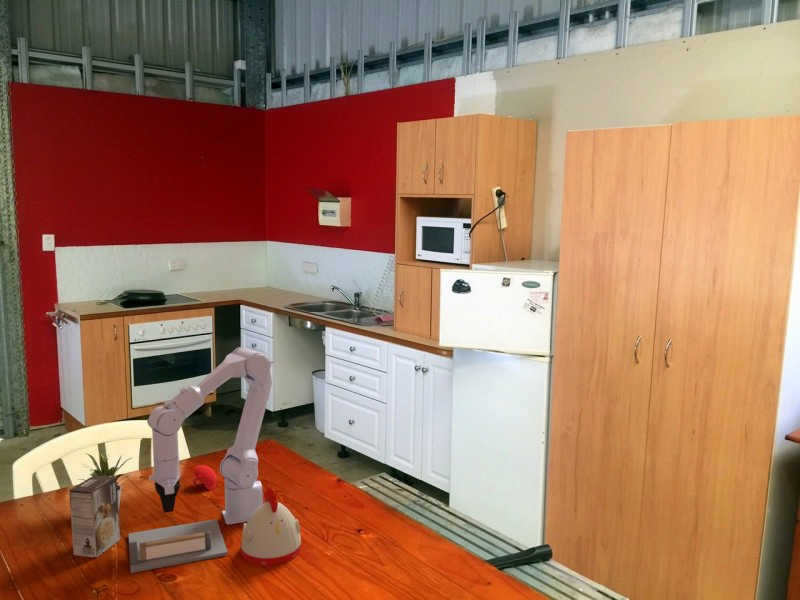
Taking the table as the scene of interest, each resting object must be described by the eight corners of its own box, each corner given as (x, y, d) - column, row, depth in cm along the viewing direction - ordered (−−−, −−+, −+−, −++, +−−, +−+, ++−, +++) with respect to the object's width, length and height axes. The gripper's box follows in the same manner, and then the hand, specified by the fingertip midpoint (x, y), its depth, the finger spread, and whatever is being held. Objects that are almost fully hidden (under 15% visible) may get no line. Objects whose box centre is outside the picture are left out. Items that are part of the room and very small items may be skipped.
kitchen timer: (250, 570, 152) (249, 506, 150) (234, 543, 164) (233, 483, 162) (309, 556, 158) (308, 494, 156) (290, 531, 170) (289, 474, 168)
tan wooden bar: (204, 546, 159) (203, 532, 159) (205, 549, 158) (204, 534, 158) (140, 558, 154) (139, 543, 153) (140, 561, 153) (140, 546, 152)
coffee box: (97, 536, 166) (94, 474, 164) (121, 539, 165) (118, 476, 163) (72, 555, 157) (68, 489, 155) (97, 558, 156) (93, 492, 154)
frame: (216, 522, 174) (216, 503, 174) (227, 555, 158) (227, 534, 157) (128, 536, 166) (127, 517, 166) (130, 573, 150) (129, 551, 149)
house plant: (60, 517, 176) (57, 457, 174) (102, 497, 189) (99, 440, 186) (103, 528, 171) (99, 465, 168) (143, 505, 183) (140, 447, 181)
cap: (184, 476, 196) (192, 470, 192) (200, 463, 200) (208, 458, 196) (201, 498, 196) (209, 493, 192) (216, 485, 200) (225, 480, 196)
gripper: (146, 449, 167) (149, 501, 169) (149, 470, 154) (152, 527, 156) (176, 445, 170) (178, 497, 172) (182, 466, 157) (184, 521, 159)
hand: (168, 511), depth 164 cm, fingers closed
